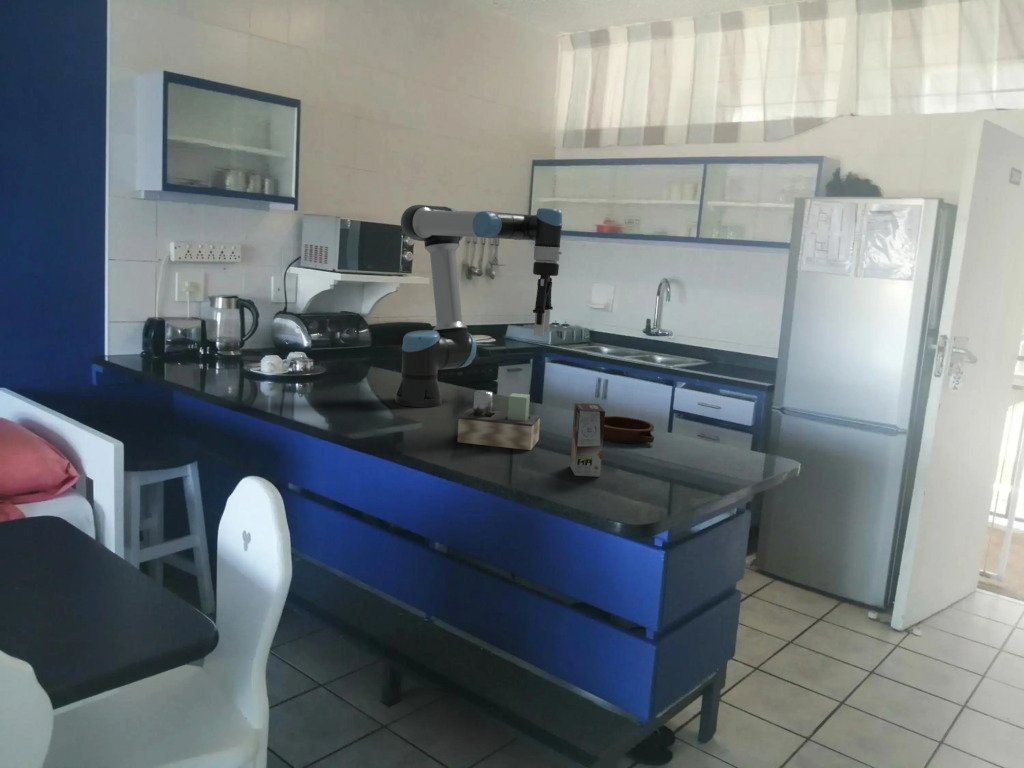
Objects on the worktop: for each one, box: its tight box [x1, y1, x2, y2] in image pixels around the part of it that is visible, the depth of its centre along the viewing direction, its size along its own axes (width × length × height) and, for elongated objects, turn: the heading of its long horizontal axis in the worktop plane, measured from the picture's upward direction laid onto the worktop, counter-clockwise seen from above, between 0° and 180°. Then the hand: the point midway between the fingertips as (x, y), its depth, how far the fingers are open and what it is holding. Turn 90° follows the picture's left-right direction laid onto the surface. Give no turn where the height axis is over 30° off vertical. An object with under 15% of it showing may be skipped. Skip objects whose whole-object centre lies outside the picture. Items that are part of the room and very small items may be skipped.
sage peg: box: [507, 392, 531, 421], centre depth 224 cm, size 5×5×7 cm
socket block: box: [457, 407, 541, 451], centre depth 226 cm, size 20×12×7 cm, turn 78°
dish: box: [603, 415, 655, 444], centre depth 238 cm, size 18×22×5 cm
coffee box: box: [569, 402, 606, 478], centre depth 200 cm, size 9×6×16 cm
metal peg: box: [472, 389, 494, 417], centre depth 226 cm, size 5×5×7 cm
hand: (541, 333), depth 248 cm, fingers open, 13 cm apart
